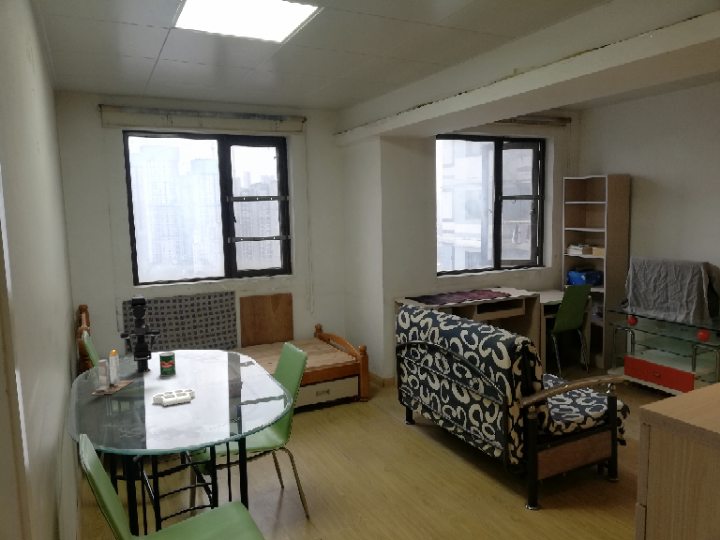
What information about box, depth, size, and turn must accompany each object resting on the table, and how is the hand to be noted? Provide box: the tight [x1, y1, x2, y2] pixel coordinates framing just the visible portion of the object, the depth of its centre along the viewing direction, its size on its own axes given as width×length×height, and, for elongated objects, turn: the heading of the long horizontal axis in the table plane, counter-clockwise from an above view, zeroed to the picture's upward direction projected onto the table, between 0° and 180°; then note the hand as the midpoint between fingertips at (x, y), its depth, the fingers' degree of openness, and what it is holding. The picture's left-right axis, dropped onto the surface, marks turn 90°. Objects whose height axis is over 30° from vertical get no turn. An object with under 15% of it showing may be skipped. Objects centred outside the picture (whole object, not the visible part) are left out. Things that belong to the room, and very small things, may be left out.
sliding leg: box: [108, 349, 121, 385], centre depth 262 cm, size 4×6×17 cm
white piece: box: [152, 388, 195, 407], centre depth 240 cm, size 3×18×15 cm
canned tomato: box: [158, 351, 177, 377], centre depth 284 cm, size 8×8×11 cm
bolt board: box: [91, 359, 134, 396], centre depth 260 cm, size 20×10×16 cm, turn 177°
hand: (141, 351), depth 270 cm, fingers open, 9 cm apart
